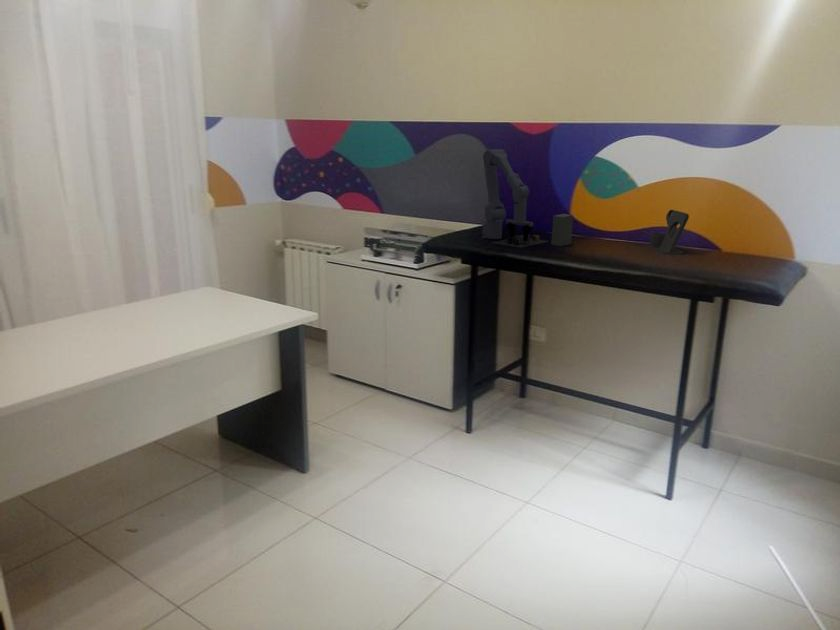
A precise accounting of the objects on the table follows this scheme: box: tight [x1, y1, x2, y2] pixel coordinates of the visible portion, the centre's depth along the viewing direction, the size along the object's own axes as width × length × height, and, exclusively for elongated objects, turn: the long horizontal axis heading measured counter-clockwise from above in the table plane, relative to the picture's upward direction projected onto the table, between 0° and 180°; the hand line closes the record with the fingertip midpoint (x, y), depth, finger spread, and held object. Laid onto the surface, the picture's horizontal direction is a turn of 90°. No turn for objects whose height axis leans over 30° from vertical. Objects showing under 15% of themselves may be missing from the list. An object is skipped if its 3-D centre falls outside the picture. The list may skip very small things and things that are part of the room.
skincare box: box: [551, 213, 574, 247], centre depth 289 cm, size 8×6×15 cm
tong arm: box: [514, 237, 528, 245], centre depth 292 cm, size 1×13×3 cm, turn 147°
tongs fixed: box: [506, 233, 531, 245], centre depth 295 cm, size 3×16×3 cm, turn 135°
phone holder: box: [648, 209, 690, 255], centre depth 279 cm, size 17×10×18 cm, turn 5°
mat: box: [490, 238, 550, 249], centre depth 297 cm, size 18×24×1 cm
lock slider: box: [531, 234, 541, 241], centre depth 300 cm, size 2×3×2 cm
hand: (518, 239), depth 295 cm, fingers open, 7 cm apart
